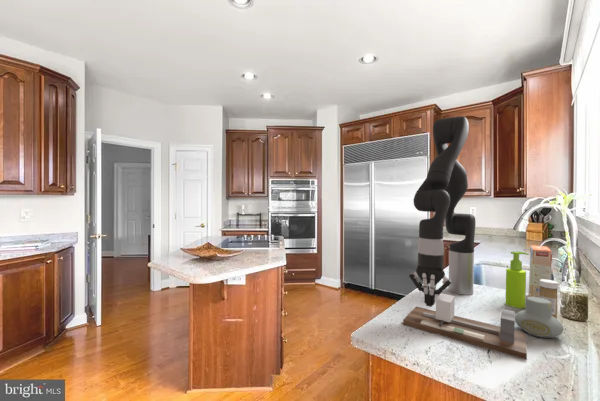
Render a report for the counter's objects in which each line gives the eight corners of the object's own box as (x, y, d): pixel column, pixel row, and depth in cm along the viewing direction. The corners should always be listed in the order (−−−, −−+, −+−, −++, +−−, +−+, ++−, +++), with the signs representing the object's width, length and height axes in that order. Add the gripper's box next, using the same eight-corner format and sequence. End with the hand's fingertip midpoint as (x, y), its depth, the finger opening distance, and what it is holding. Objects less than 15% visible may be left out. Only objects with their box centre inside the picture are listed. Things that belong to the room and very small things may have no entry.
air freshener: (564, 335, 82) (565, 301, 82) (560, 345, 76) (561, 308, 76) (518, 323, 90) (518, 291, 90) (511, 330, 84) (512, 297, 84)
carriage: (440, 312, 91) (440, 293, 91) (454, 315, 89) (454, 296, 89) (432, 324, 83) (432, 303, 83) (447, 328, 80) (447, 306, 80)
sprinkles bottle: (559, 323, 90) (560, 281, 90) (554, 326, 88) (555, 283, 87) (541, 317, 94) (542, 277, 94) (536, 321, 91) (537, 280, 91)
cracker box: (551, 307, 103) (552, 251, 103) (530, 303, 107) (531, 249, 106) (547, 297, 114) (548, 246, 114) (528, 294, 118) (529, 244, 118)
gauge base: (415, 310, 99) (416, 289, 98) (525, 337, 80) (525, 311, 80) (403, 324, 87) (403, 300, 87) (526, 359, 69) (527, 329, 69)
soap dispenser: (532, 308, 102) (533, 253, 102) (513, 307, 102) (514, 253, 102) (519, 302, 108) (521, 250, 108) (501, 301, 108) (502, 250, 108)
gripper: (455, 253, 89) (454, 307, 89) (412, 247, 97) (411, 297, 97) (451, 256, 83) (450, 314, 83) (405, 250, 91) (404, 303, 91)
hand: (429, 305), depth 90 cm, fingers closed
